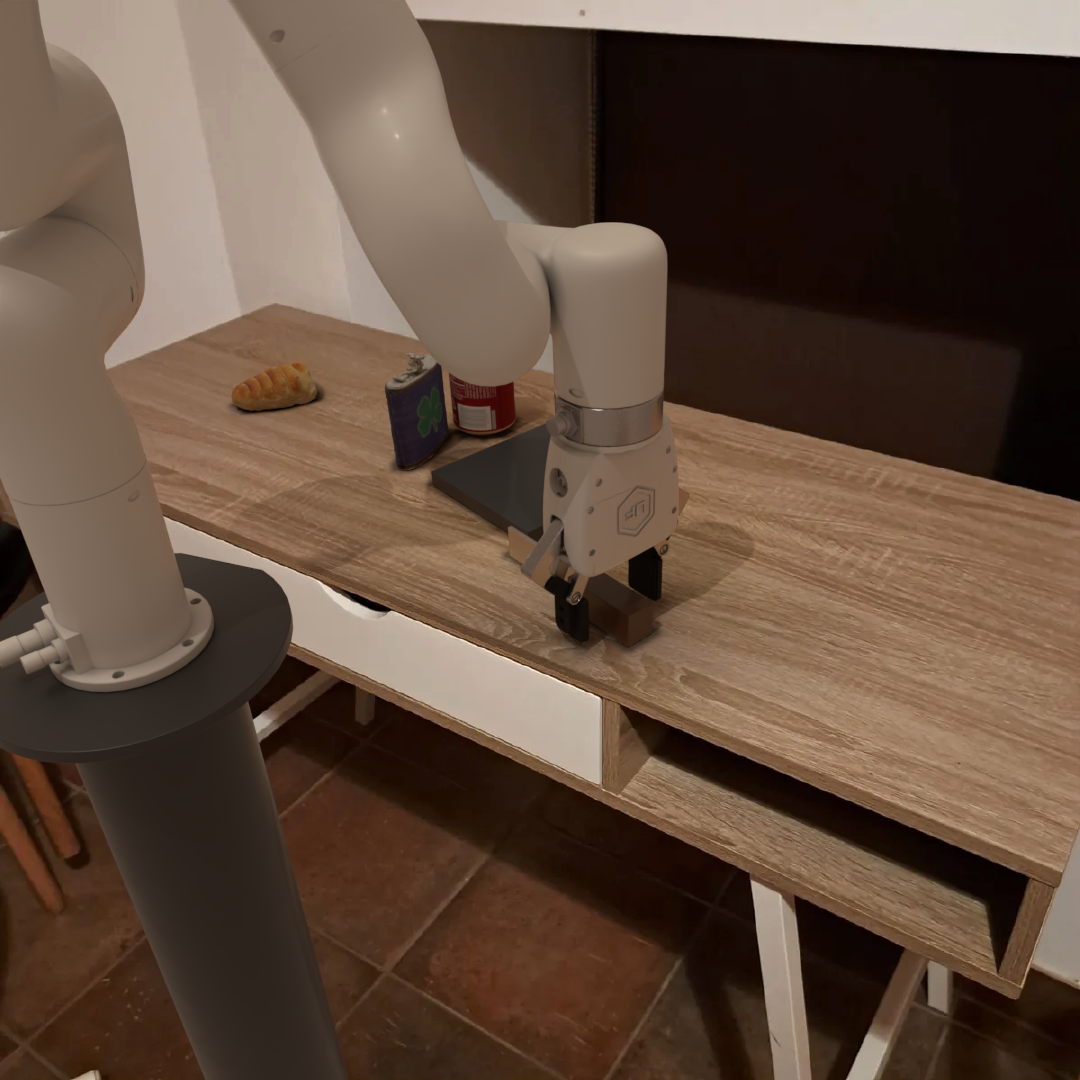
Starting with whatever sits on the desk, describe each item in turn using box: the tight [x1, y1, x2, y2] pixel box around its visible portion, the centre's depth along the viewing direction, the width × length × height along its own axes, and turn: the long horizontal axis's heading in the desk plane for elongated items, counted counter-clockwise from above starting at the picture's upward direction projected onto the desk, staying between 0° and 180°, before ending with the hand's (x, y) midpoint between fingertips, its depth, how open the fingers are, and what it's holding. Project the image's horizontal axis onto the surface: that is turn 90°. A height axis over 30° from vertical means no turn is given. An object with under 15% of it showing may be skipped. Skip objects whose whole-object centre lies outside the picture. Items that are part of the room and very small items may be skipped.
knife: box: [507, 526, 654, 648], centre depth 82 cm, size 16×3×3 cm, turn 40°
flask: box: [384, 351, 449, 471], centre depth 102 cm, size 9×3×11 cm, turn 157°
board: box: [430, 422, 551, 542], centre depth 98 cm, size 17×15×2 cm
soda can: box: [448, 372, 517, 437], centre depth 106 cm, size 7×7×12 cm
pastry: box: [231, 360, 318, 412], centre depth 116 cm, size 9×7×4 cm
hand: (609, 611), depth 80 cm, fingers open, 7 cm apart
